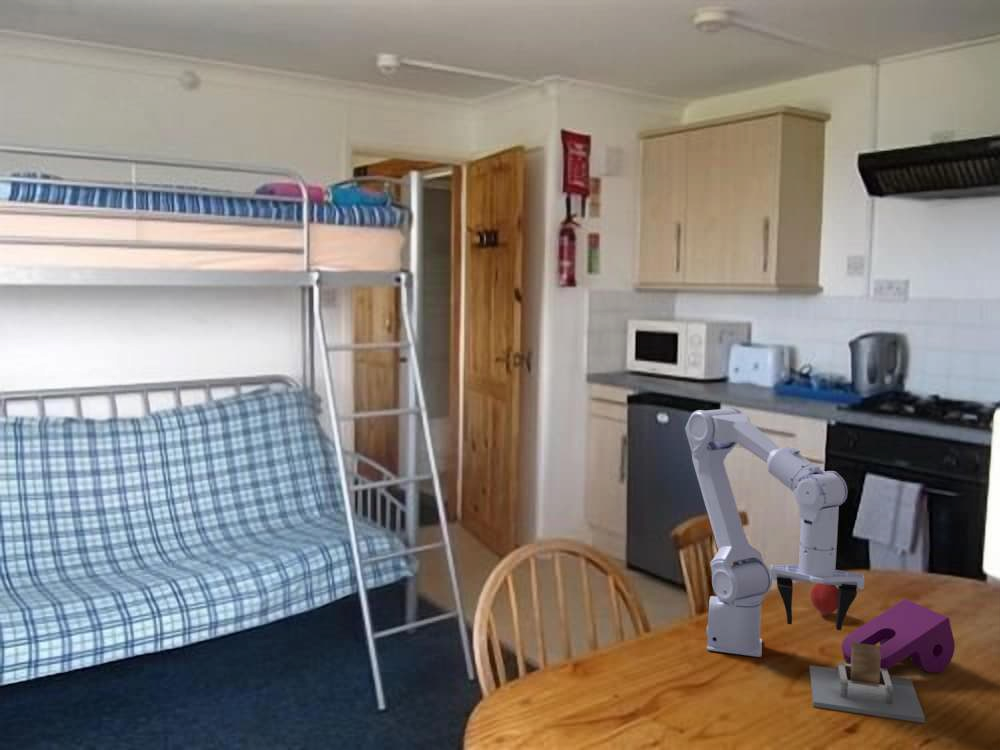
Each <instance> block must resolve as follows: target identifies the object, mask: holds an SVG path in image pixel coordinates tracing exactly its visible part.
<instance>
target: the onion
mask: <svg viewBox="0 0 1000 750" xmlns="http://www.w3.org/2000/svg"><path fill="white" fill-rule="evenodd" d="M809 596H810V602H811V604H812V606H813V607H814V608H815V609H816V610H817V611H818V612H819V613H820V614H821V615H822V616H826V617H827V616H829V615H831V614H832V613H835V611H837V608H838V587H837V585H830V584H820V583H815V585H814V586H813V588H812V589H811V591H810V595H809Z"/></svg>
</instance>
